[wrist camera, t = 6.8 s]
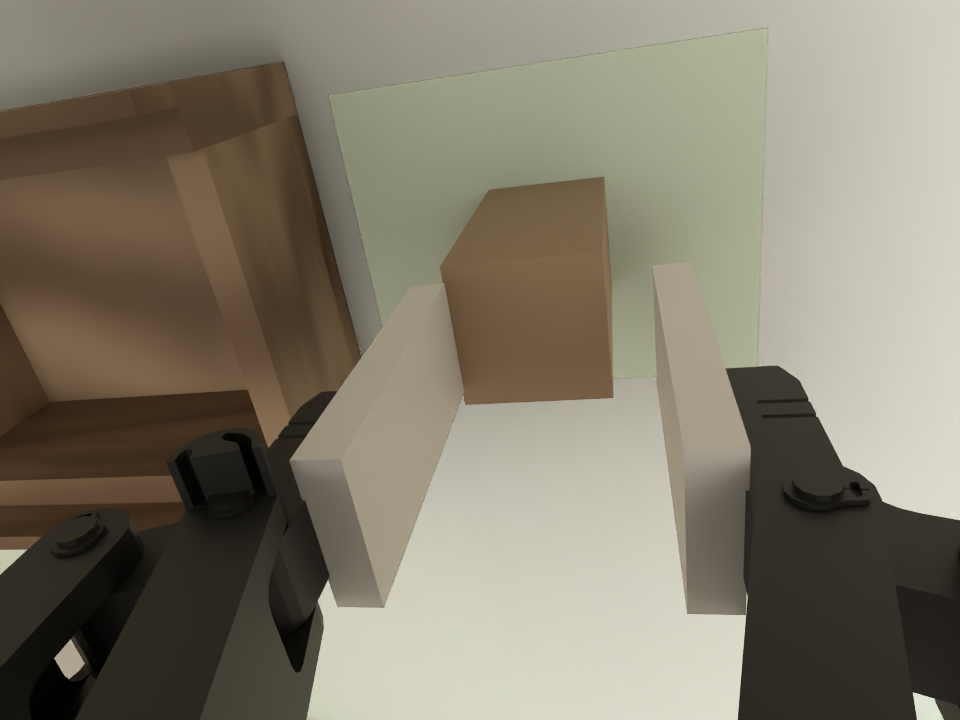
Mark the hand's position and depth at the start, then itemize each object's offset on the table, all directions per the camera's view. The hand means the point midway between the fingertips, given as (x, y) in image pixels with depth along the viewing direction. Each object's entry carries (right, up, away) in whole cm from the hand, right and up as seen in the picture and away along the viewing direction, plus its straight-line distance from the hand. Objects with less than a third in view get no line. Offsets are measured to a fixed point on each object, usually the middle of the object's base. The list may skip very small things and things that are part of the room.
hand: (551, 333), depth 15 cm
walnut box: (-13, +3, +10) cm, 16 cm away
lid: (+1, +4, +7) cm, 8 cm away
